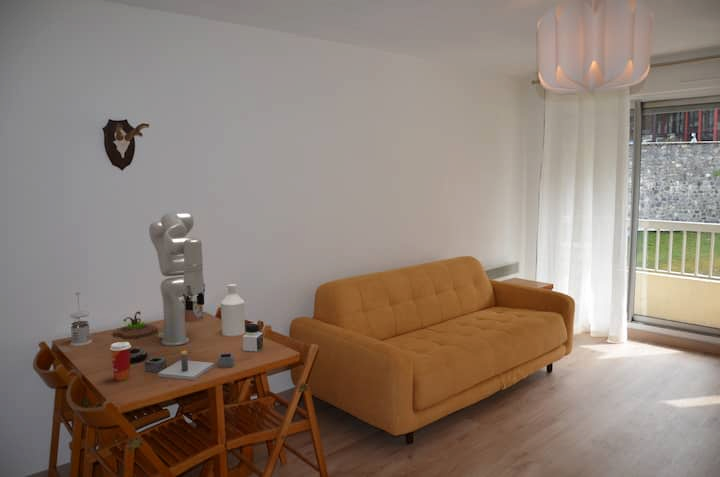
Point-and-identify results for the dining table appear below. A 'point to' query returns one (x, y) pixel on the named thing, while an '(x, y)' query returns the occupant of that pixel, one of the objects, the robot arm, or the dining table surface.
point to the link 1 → (155, 364)
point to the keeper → (186, 369)
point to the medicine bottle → (252, 338)
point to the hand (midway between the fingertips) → (195, 307)
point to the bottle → (233, 313)
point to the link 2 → (225, 360)
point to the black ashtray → (137, 355)
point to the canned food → (193, 311)
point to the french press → (80, 328)
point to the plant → (135, 329)
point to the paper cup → (121, 360)
